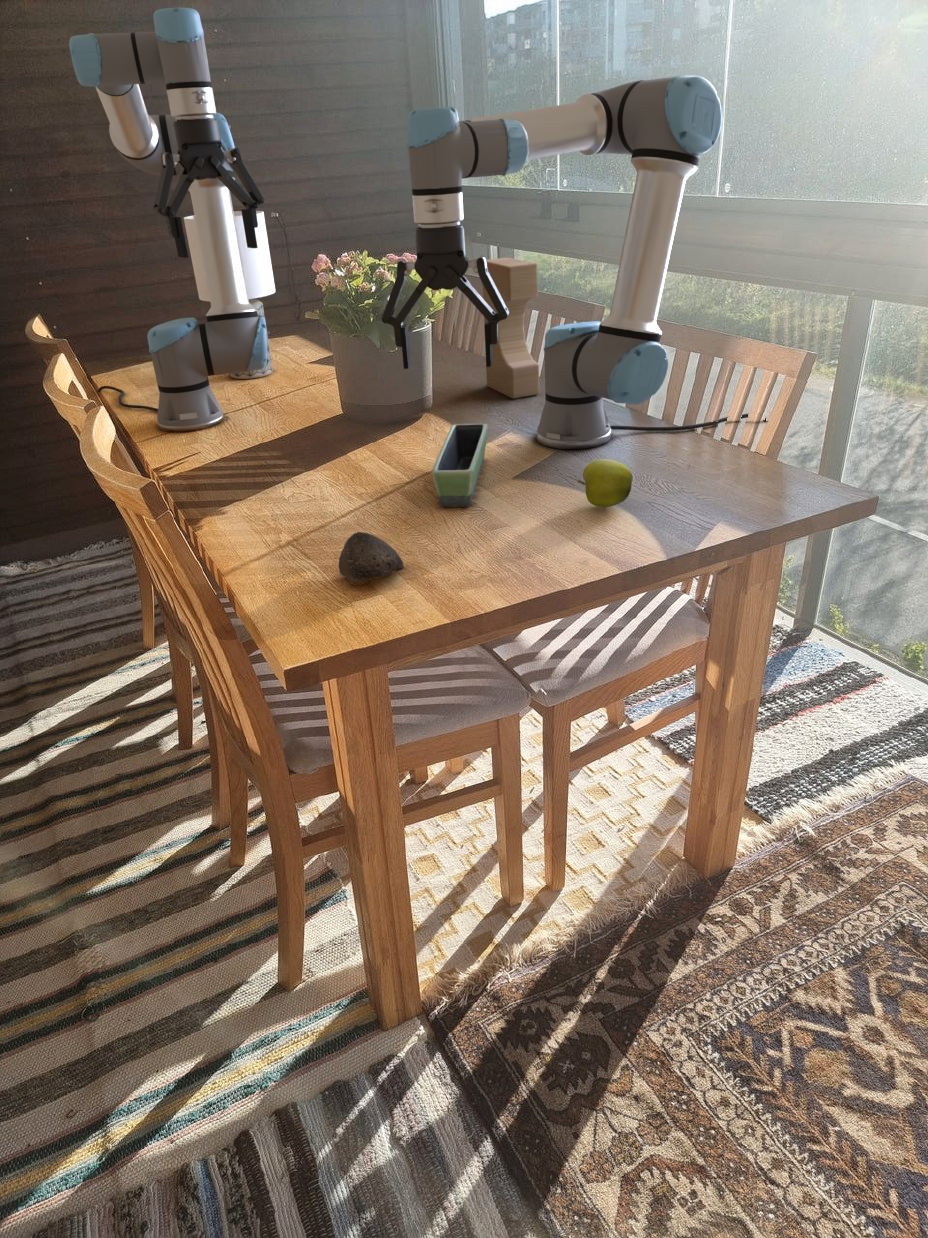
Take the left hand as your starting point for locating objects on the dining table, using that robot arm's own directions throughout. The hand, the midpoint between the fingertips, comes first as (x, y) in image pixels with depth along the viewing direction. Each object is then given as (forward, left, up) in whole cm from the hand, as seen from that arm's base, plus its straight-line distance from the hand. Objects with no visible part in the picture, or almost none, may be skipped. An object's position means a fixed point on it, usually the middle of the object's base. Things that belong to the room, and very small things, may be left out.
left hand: (218, 252), depth 160 cm
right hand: (+41, +27, -17) cm, 52 cm away
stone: (+62, +4, -41) cm, 74 cm away
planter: (+32, +32, -41) cm, 61 cm away
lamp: (-82, +16, -41) cm, 93 cm away
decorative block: (-21, +69, -41) cm, 83 cm away
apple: (+56, +48, -41) cm, 84 cm away
